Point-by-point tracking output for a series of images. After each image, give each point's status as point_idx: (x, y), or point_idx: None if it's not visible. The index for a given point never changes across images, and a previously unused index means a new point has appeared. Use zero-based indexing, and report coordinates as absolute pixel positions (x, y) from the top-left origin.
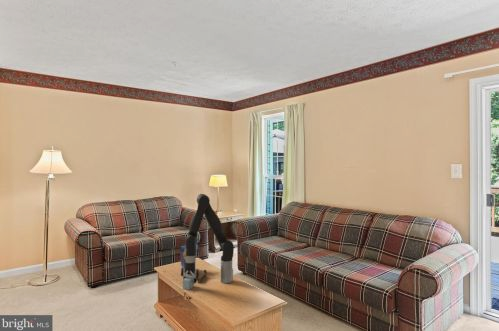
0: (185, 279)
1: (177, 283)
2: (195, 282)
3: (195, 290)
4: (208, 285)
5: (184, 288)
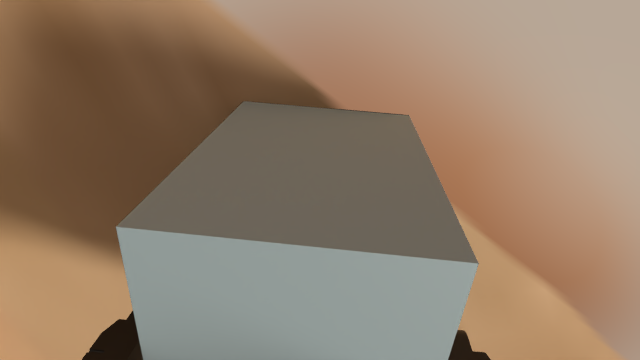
0: (351, 307)
1: (608, 347)
2: (124, 320)
3: (76, 93)
4: (15, 336)
5: (363, 115)
